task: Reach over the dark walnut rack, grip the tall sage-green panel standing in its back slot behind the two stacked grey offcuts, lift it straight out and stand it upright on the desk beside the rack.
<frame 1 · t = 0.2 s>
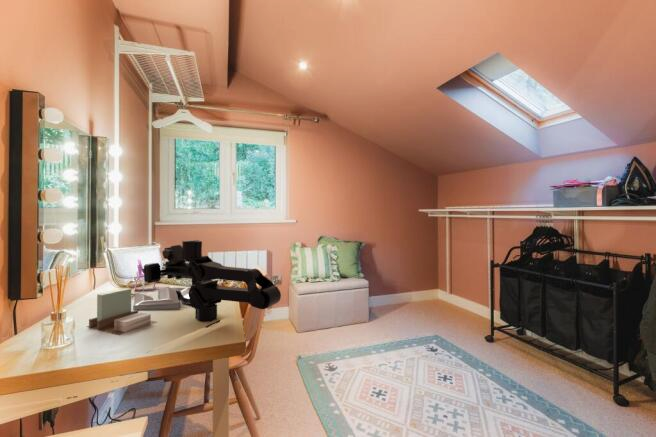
hand: (154, 268, 110), 17 cm above the table, tool horizontal, fingers open, 9 cm apart
green panel: (114, 322, 96), point 1 cm above the table, touching rack
toy chair: (144, 289, 147), on the table
bracelet: (135, 296, 135), on the table
offcut lower: (132, 326, 93), point 1 cm above the table, touching offcut upper, rack
offcut upper: (132, 321, 93), point 3 cm above the table, touching offcut lower
rack: (122, 328, 95), on the table
emblem: (168, 305, 122), on the table
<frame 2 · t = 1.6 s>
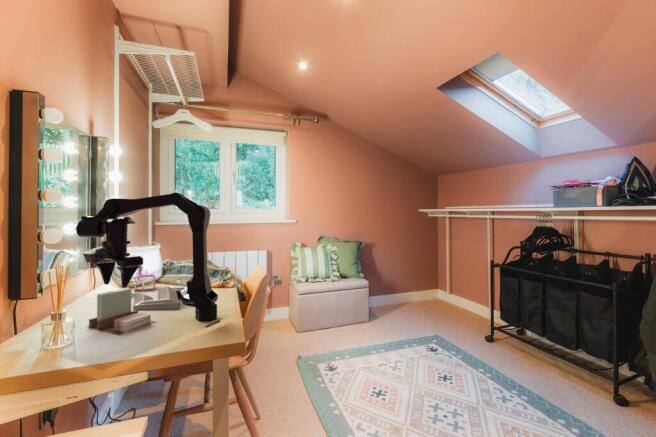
hand: (115, 285, 96), 13 cm above the table, tool pointing down, fingers open, 9 cm apart
nothing on the table moved.
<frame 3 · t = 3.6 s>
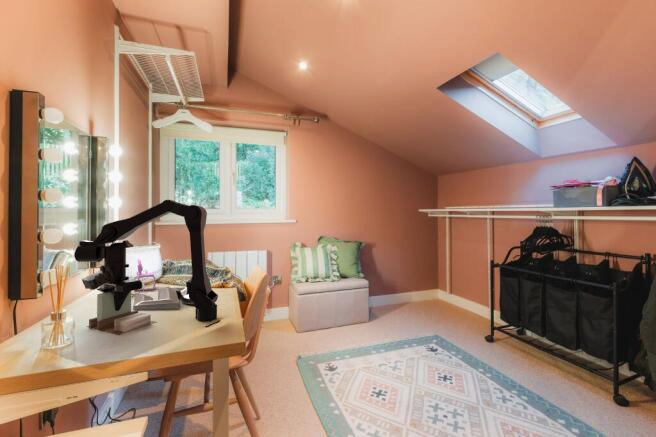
hand: (114, 309, 96), 6 cm above the table, tool pointing down, fingers closed on green panel, 2 cm apart
green panel: (114, 322, 96), point 1 cm above the table, touching gripper, rack
everything else where it was.
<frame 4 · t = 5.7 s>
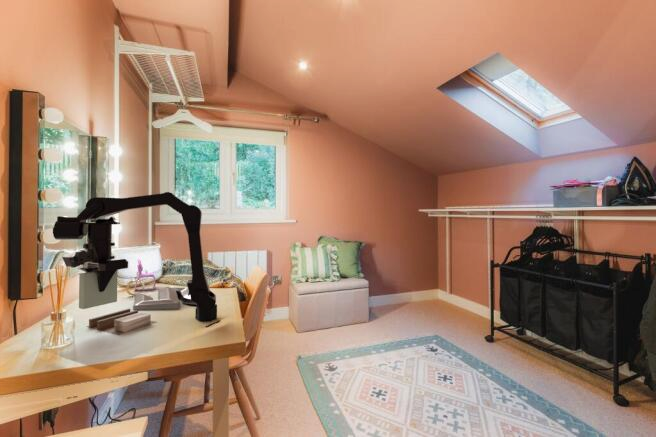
hand: (98, 291, 90), 13 cm above the table, tool pointing down, fingers closed on green panel, 2 cm apart
green panel: (98, 304, 90), point 9 cm above the table, touching gripper
everything else where it was.
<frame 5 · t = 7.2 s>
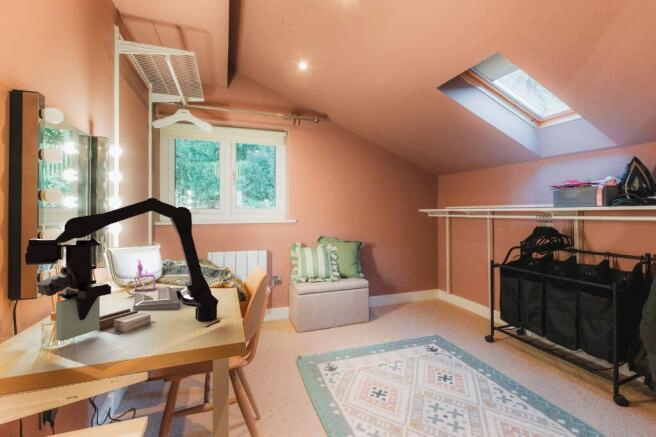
hand: (79, 319, 82), 7 cm above the table, tool pointing down, fingers closed on green panel, 2 cm apart
green panel: (78, 334, 82), point 3 cm above the table, touching gripper
everything else where it was.
when the fingers open (5 cm above the table, at t = 8.2 s): green panel stays where it is, on the table.
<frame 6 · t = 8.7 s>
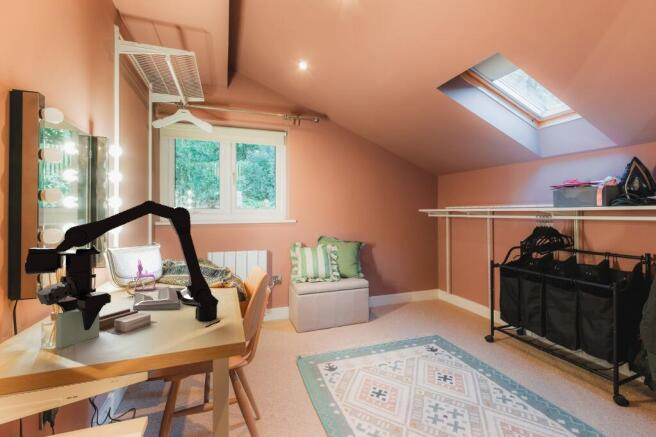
hand: (78, 327, 82), 5 cm above the table, tool pointing down, fingers open, 7 cm apart
green panel: (78, 346, 82), on the table
everything else where it was.
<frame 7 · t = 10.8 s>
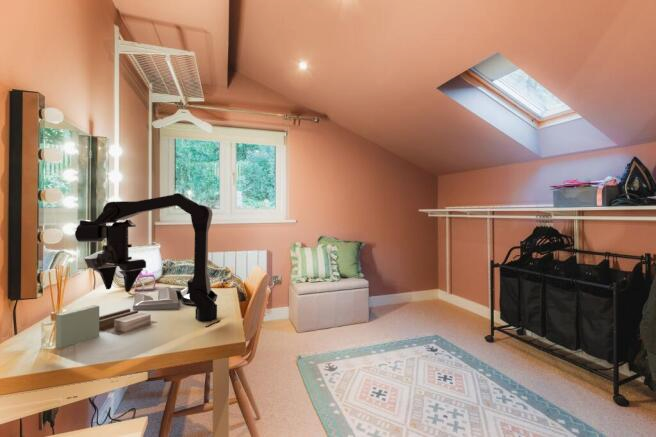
hand: (117, 290, 95), 12 cm above the table, tool pointing down, fingers open, 9 cm apart
nothing on the table moved.
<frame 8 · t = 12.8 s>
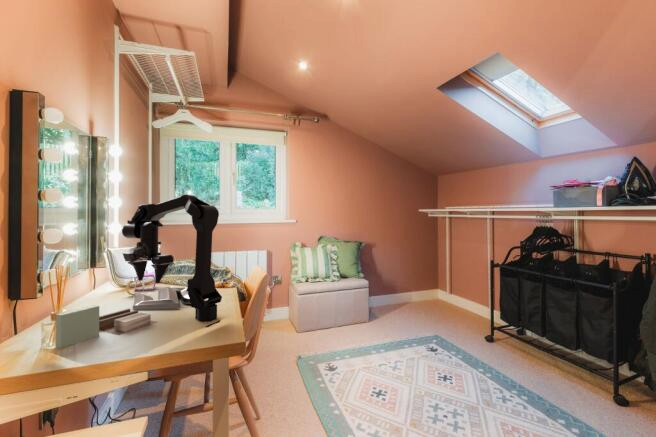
hand: (149, 281, 109), 12 cm above the table, tool pointing down, fingers open, 9 cm apart
nothing on the table moved.
at the end: green panel inside the target area (0.0 cm from its centre), on the table; green panel tilted 0°; the gripper is holding nothing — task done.
